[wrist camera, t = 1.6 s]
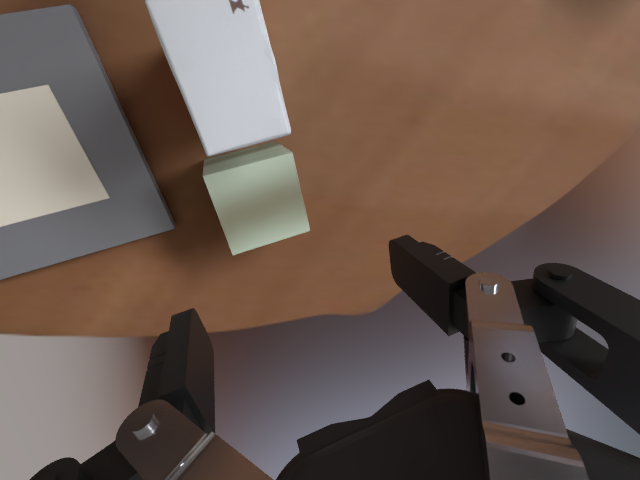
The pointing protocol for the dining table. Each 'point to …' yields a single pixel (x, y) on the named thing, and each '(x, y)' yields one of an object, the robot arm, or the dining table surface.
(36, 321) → the dining table surface
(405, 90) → the dining table surface
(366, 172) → the dining table surface
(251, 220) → the green block
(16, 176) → the base plate
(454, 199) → the dining table surface
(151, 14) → the skincare box
